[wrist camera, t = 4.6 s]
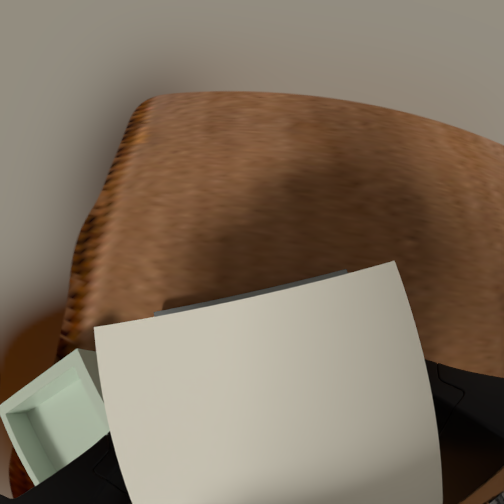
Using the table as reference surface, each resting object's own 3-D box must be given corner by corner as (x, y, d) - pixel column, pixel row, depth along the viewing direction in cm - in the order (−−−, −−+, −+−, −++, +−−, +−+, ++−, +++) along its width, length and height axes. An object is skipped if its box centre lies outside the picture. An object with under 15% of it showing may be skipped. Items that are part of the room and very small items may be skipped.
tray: (189, 486, 13) (174, 505, 10) (88, 519, 11) (67, 532, 9) (103, 352, 17) (77, 348, 14) (23, 407, 15) (-3, 407, 12)
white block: (331, 424, 14) (442, 516, 3) (234, 445, 14) (165, 574, 2) (309, 334, 16) (394, 260, 5) (214, 356, 16) (93, 326, 5)
